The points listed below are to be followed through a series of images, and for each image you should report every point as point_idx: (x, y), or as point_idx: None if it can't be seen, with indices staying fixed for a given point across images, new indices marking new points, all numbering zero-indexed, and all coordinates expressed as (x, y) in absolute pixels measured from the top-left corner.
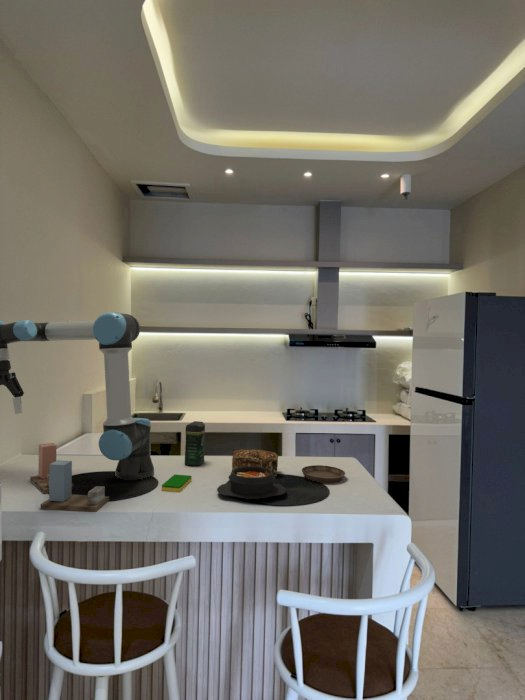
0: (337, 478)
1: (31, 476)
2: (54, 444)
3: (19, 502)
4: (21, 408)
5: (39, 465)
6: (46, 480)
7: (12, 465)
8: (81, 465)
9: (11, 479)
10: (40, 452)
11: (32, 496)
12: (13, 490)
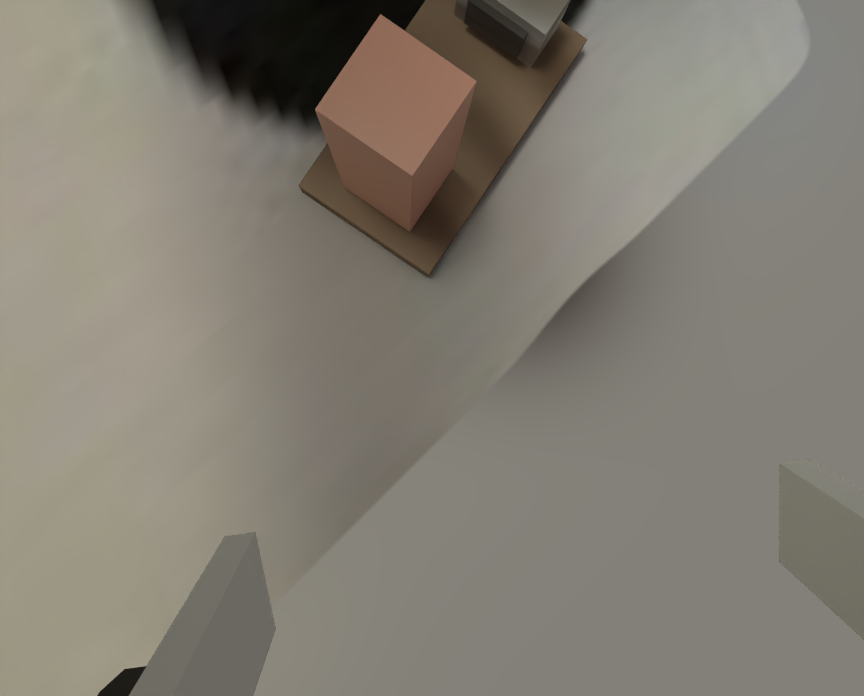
0: None
1: (423, 270)
2: (360, 51)
3: (713, 81)
4: (210, 577)
5: (423, 197)
6: None
7: None
8: (63, 199)
9: (445, 391)
10: (440, 149)
11: (627, 82)
12: (587, 239)
